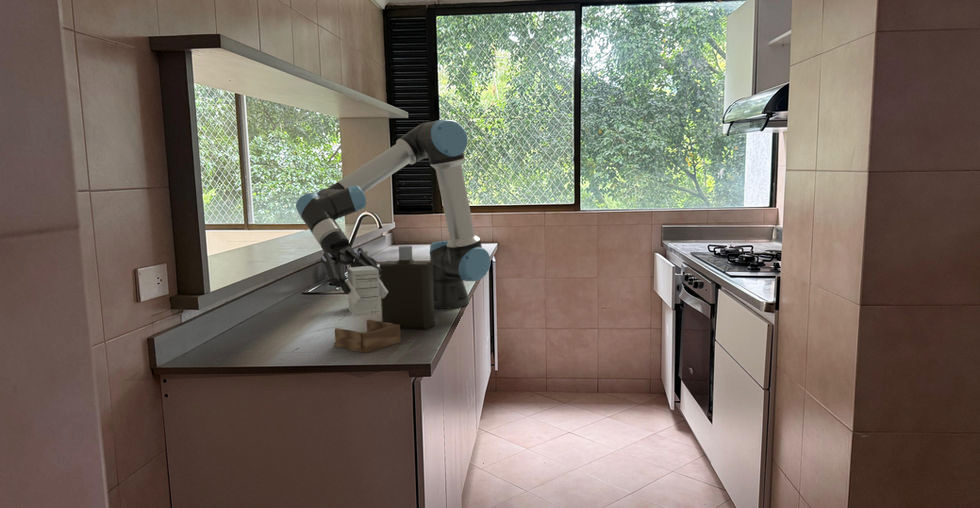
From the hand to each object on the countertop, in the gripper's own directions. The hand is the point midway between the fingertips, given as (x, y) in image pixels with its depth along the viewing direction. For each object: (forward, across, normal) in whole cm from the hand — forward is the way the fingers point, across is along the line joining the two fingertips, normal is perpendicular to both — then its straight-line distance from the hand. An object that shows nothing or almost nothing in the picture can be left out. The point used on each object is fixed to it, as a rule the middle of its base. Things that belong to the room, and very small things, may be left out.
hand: (371, 298), depth 178 cm
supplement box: (+1, 0, -6) cm, 6 cm away
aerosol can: (-20, -36, -40) cm, 57 cm away
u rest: (+7, 0, -12) cm, 14 cm away
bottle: (+4, -22, -15) cm, 27 cm away
